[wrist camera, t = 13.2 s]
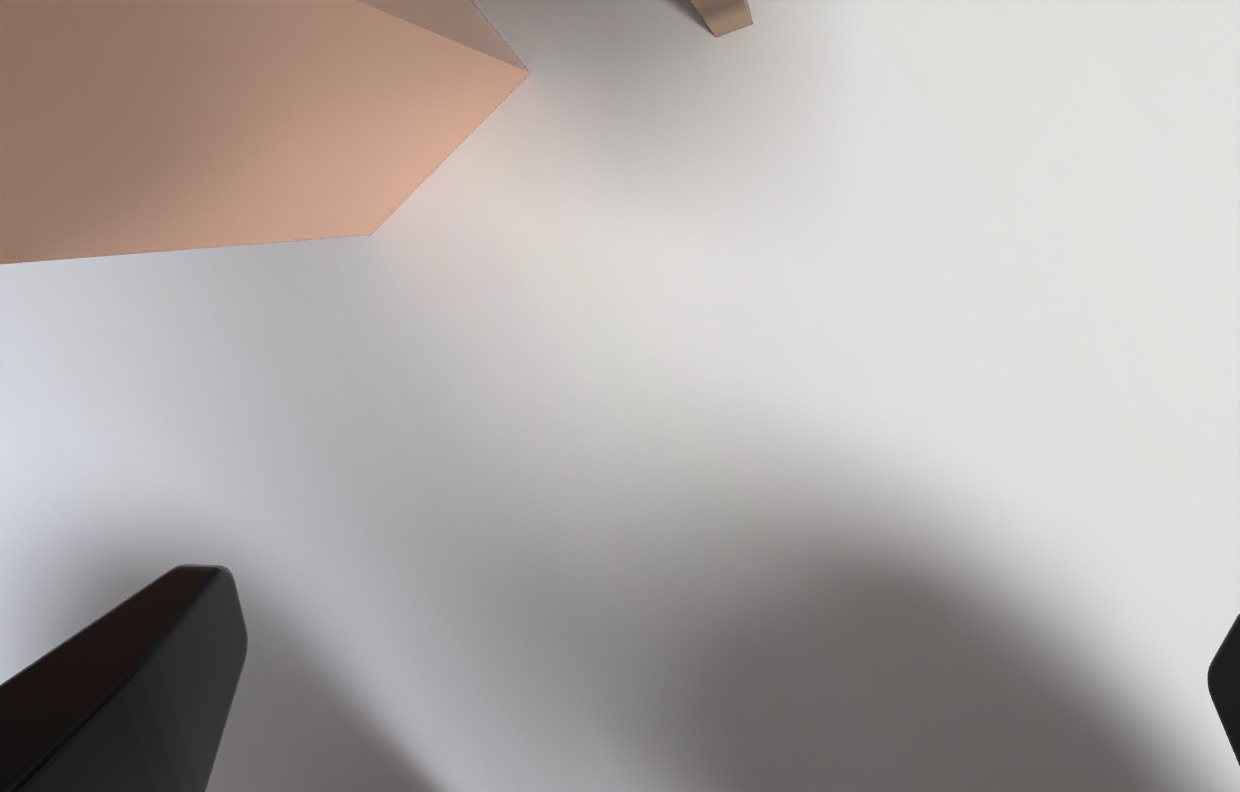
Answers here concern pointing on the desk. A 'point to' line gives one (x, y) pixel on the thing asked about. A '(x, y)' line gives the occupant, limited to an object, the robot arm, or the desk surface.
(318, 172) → the tall peach pillar
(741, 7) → the brown l-shaped block
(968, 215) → the desk surface
